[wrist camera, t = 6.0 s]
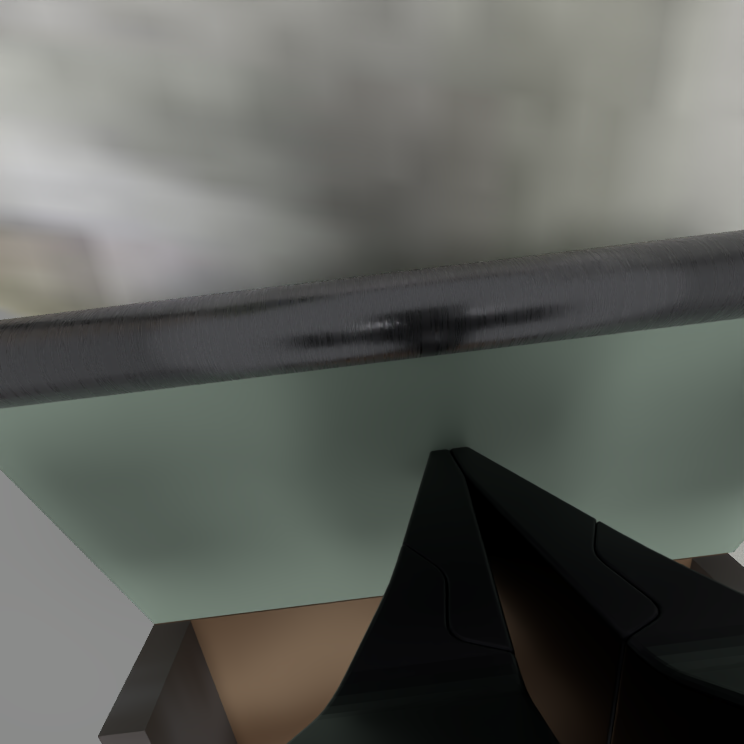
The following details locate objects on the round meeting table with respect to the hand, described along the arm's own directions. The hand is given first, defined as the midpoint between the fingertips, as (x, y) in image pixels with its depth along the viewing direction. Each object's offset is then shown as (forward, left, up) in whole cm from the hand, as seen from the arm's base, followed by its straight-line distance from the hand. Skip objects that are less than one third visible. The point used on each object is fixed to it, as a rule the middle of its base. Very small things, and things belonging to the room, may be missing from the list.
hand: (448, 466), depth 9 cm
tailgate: (-5, 0, -2) cm, 6 cm away
